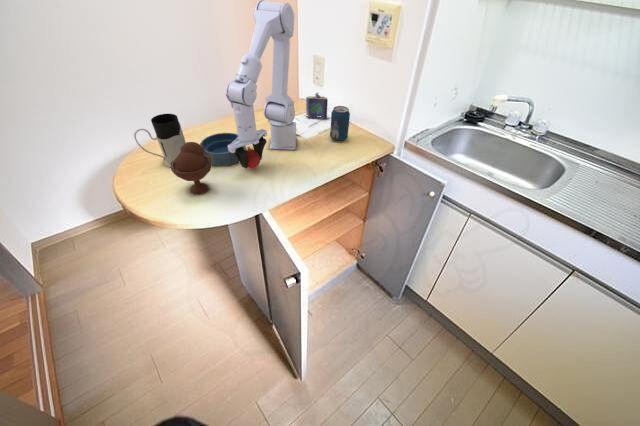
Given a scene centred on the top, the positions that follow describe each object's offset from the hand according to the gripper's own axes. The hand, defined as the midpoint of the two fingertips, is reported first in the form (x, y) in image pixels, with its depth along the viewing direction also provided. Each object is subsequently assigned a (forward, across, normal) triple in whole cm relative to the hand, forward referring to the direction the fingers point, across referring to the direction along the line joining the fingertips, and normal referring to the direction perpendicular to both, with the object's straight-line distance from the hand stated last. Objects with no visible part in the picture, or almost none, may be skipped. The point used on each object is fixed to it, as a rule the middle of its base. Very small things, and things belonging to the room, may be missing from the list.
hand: (251, 163), depth 96 cm
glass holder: (+2, -15, +24) cm, 28 cm away
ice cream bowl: (+2, -18, +4) cm, 19 cm away
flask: (+2, +46, +8) cm, 47 cm away
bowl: (+2, 0, +14) cm, 14 cm away
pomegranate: (+2, 0, 0) cm, 2 cm away
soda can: (+2, +36, -11) cm, 38 cm away
